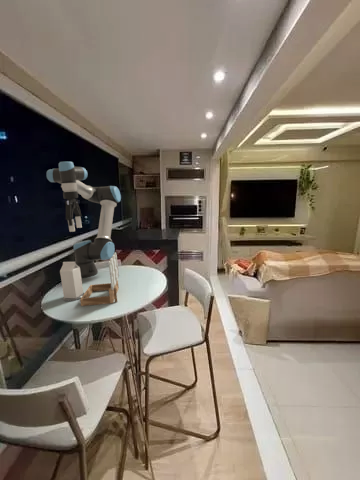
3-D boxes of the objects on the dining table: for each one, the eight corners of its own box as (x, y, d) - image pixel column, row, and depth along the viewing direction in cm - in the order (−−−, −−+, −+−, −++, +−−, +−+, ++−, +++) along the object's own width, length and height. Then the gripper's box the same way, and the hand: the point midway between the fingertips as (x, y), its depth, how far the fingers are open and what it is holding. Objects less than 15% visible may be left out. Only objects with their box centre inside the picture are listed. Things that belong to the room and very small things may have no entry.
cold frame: (91, 290, 146) (86, 254, 142) (122, 287, 147) (118, 252, 144) (81, 306, 126) (75, 264, 122) (116, 302, 127) (112, 261, 124)
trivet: (67, 294, 143) (66, 293, 143) (87, 292, 144) (87, 291, 144) (59, 302, 133) (59, 301, 132) (81, 300, 133) (81, 299, 133)
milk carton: (76, 298, 134) (71, 263, 131) (64, 298, 136) (58, 263, 132) (83, 293, 141) (78, 259, 138) (71, 293, 142) (66, 260, 139)
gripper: (70, 191, 152) (75, 226, 157) (54, 192, 128) (61, 234, 133) (83, 190, 153) (88, 225, 157) (70, 191, 129) (76, 232, 133)
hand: (76, 229), depth 145 cm, fingers open, 13 cm apart
